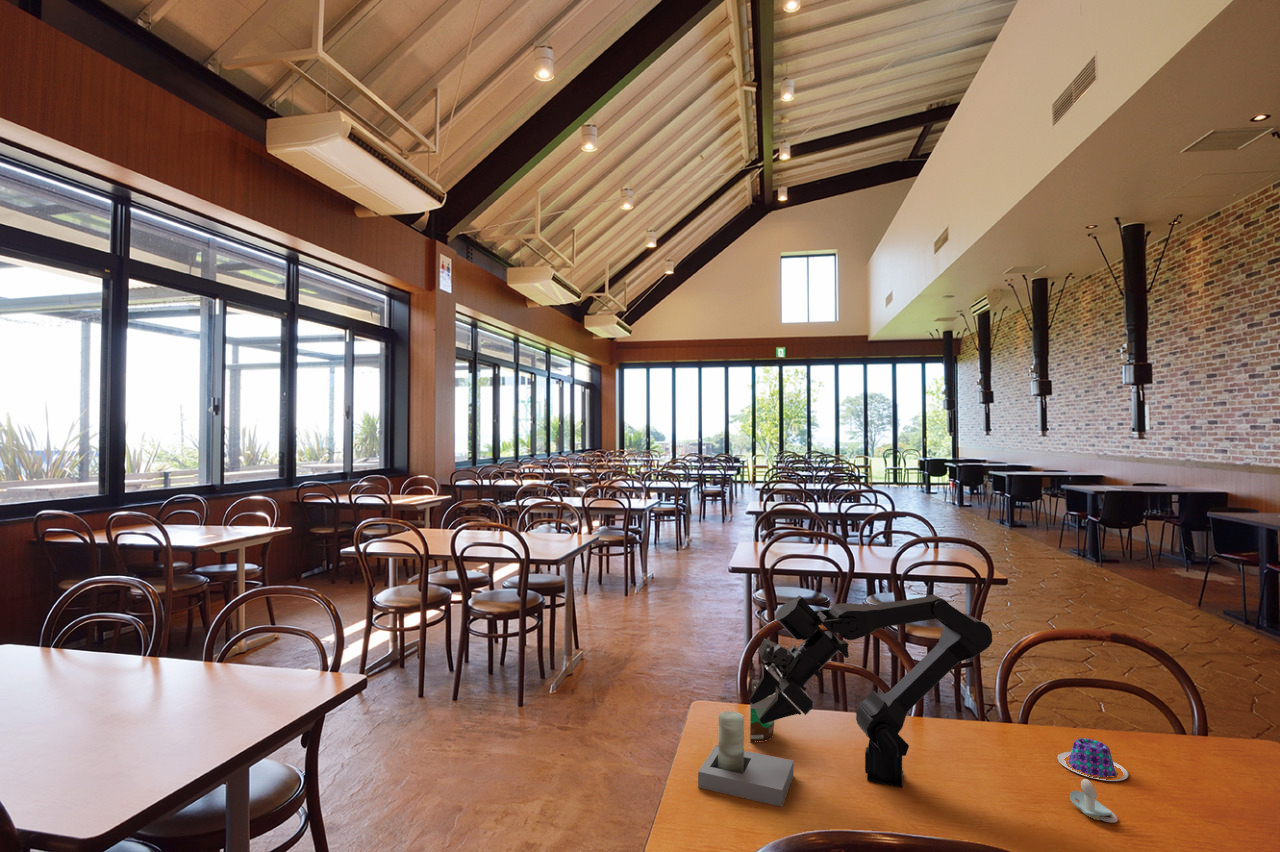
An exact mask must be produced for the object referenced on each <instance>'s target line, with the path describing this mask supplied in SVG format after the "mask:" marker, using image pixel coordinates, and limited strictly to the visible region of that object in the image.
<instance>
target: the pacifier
mask: <svg viewBox="0 0 1280 852" xmlns="http://www.w3.org/2000/svg"><path fill="white" fill-rule="evenodd" d="M1080 788H1081V791H1080V790H1073V791H1070V792H1069V799H1070V801H1071V803H1072V805H1074V806H1075V808H1077V809H1079V810H1081V812H1082V813H1083V814H1084V815H1086V816H1087V817H1088V816H1089V818H1090V817H1091V819H1092V818H1093V820H1095V819H1097V820H1096V821H1103V822H1105V823H1110V824H1112V823H1117V822H1118V817H1117V815H1116V814H1115V813H1114V812H1113V811H1112V810H1111V809H1109V808H1107V807H1106V806H1105V805H1103V804H1102V803H1101V802H1099V801H1098V800H1097V797H1098V795H1097V790H1096V789H1095V786H1094V785H1093V783H1092V782H1091V781H1090V780H1089V779H1087V778H1083V779H1082V780H1081V782H1080ZM1107 816H1109V817H1107Z"/></svg>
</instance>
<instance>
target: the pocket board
mask: <svg viewBox="0 0 1280 852" xmlns="http://www.w3.org/2000/svg"><path fill="white" fill-rule="evenodd" d="M794 762H795V761H794V760H793V759H786V758H782V757H779V756H773V755H767V754H763V753H759V752H758V753H757V752H753V751H748V750H744V773H743V774H741V773H736V772H732V771H727V770H723V769H718V744H715V745H714V747H713V748H712V750H711V752H710V753H709V755H708V756H707V758H706V759H705V760H704V762H703V764H702V765H701V766H700V768H699V769H698V772H697V776H698V777H697V788H698V789H699V788H700V789H704V790H709V791H712V792H716V793H720V794H723V795H724V794H725V795H730V796H733V797H739V798H742V799H745V800H746V799H747V800H749V801H751V800H752V801H754V802H759V803H764V804H768V805H772V806H777V807H781V808H782V807H783V805H784V803H785V800H786V797H787V794H788V791H790V790H789V789H790V786H791V784H792V781H793V778H794V773H795V772H794V769H795V767H794V766H795V765H794Z"/></svg>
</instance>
